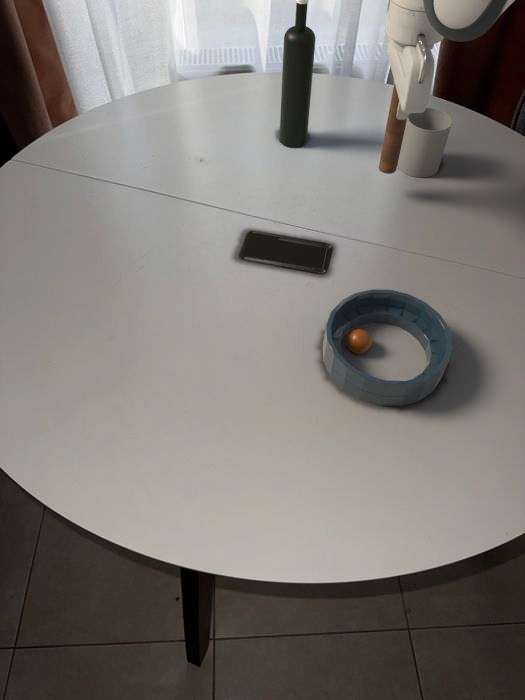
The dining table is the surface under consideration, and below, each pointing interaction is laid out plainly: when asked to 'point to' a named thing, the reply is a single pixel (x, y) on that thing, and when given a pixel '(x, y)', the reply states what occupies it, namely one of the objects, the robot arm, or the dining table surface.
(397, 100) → the stirring stick
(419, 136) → the cup
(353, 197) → the dining table surface
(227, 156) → the dining table surface
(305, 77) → the wine bottle
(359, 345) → the bead
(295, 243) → the phone
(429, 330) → the blue faceted ring
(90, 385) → the dining table surface
